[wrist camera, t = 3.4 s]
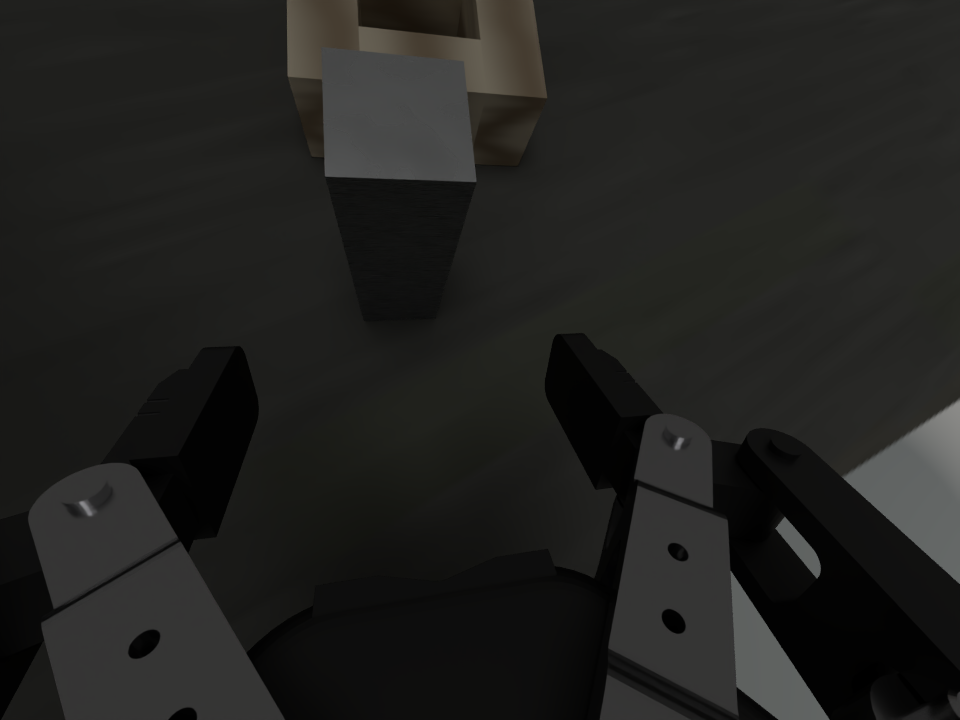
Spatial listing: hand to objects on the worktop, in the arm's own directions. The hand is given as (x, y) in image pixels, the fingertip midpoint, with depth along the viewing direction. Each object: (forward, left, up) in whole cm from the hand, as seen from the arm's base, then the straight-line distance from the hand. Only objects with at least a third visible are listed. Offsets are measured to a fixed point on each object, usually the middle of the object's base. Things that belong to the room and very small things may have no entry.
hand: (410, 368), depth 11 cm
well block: (+2, +24, -14) cm, 28 cm away
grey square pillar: (0, +8, -14) cm, 16 cm away
